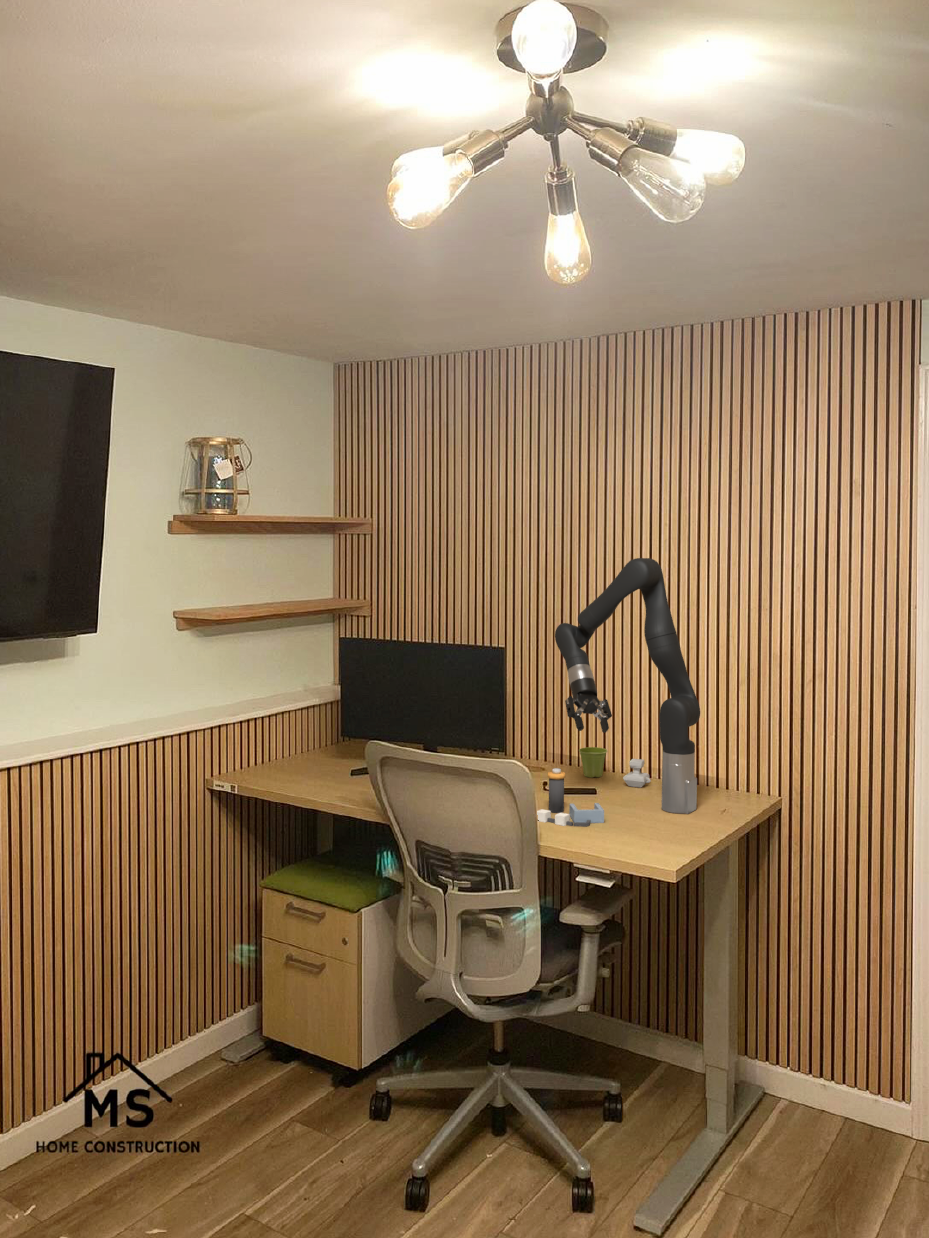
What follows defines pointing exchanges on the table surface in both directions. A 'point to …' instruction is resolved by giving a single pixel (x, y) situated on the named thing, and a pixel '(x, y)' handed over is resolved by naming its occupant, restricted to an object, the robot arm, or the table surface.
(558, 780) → the grey and orange bottle
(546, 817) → the routed cable
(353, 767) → the table surface
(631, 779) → the stamp
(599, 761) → the plant pot
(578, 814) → the end holder
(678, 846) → the table surface
